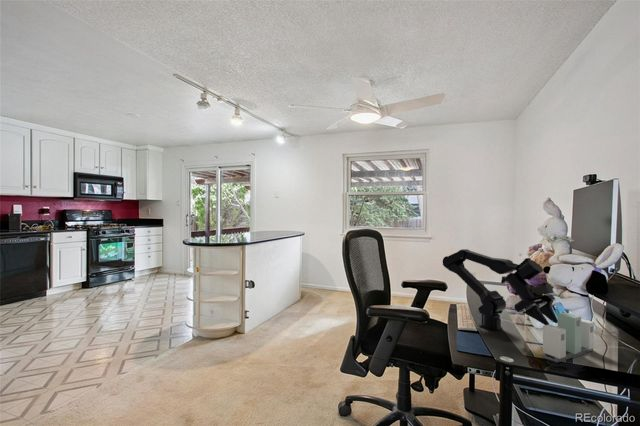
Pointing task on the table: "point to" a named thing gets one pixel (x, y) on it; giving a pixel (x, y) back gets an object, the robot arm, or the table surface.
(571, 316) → the block
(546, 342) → the mounted modules
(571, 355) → the rail
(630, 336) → the table surface
